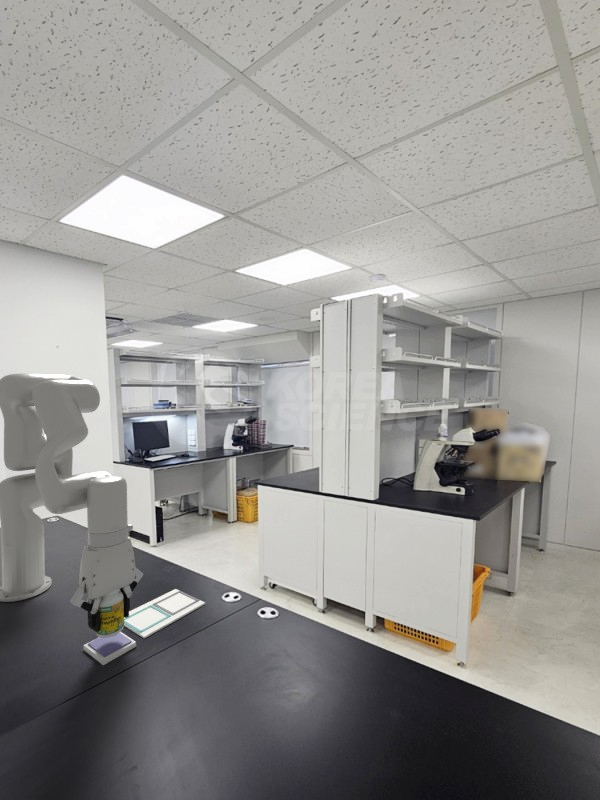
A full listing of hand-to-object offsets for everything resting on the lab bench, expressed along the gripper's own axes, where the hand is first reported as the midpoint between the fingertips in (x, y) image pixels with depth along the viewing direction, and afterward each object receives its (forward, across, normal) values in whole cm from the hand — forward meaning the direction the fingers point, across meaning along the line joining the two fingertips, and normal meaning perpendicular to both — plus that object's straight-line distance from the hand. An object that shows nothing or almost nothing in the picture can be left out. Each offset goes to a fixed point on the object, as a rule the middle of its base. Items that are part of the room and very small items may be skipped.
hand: (109, 621), depth 82 cm
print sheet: (+6, -14, -3) cm, 16 cm away
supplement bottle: (+2, 0, 0) cm, 2 cm away
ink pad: (+6, 0, 0) cm, 6 cm away
